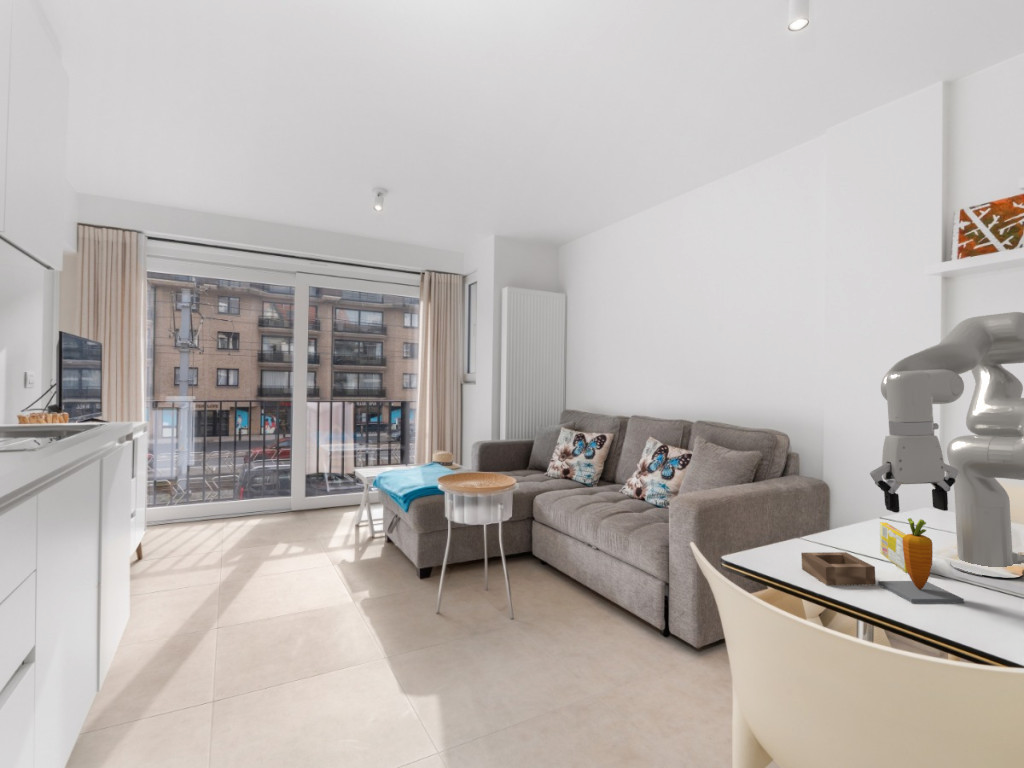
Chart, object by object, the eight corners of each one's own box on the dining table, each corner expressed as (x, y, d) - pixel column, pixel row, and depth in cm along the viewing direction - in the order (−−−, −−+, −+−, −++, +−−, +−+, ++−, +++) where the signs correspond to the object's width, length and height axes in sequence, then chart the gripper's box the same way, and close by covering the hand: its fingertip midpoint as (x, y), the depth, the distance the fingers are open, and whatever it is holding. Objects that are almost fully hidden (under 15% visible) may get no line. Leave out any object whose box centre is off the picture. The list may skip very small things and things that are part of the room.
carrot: (902, 583, 109) (899, 514, 109) (931, 587, 107) (928, 516, 107) (906, 591, 105) (903, 519, 105) (937, 595, 102) (933, 521, 103)
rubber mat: (925, 584, 110) (925, 580, 110) (963, 602, 100) (963, 598, 100) (878, 584, 111) (878, 581, 111) (911, 603, 101) (911, 599, 101)
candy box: (916, 574, 117) (914, 538, 117) (905, 573, 118) (903, 537, 118) (889, 553, 132) (887, 521, 133) (879, 552, 133) (877, 521, 133)
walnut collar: (846, 569, 121) (846, 552, 121) (875, 585, 111) (874, 566, 111) (802, 569, 122) (801, 552, 122) (826, 585, 111) (825, 567, 111)
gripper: (939, 426, 110) (944, 504, 110) (857, 430, 111) (863, 507, 111) (968, 429, 103) (974, 512, 102) (880, 433, 104) (886, 516, 103)
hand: (916, 510), depth 107 cm, fingers open, 9 cm apart
